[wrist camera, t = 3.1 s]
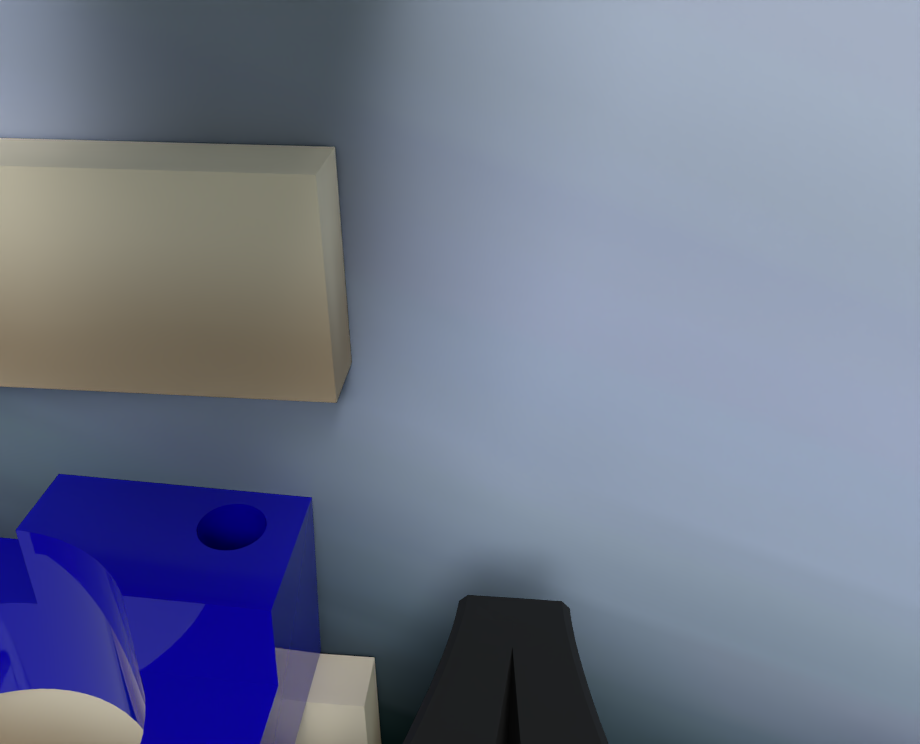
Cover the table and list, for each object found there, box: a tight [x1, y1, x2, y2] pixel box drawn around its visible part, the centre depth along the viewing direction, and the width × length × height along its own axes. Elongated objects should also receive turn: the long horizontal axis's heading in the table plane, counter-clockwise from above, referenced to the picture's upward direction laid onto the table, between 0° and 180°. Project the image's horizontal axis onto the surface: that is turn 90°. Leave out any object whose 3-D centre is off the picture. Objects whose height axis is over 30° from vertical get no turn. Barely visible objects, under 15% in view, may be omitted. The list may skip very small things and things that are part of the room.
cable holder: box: [0, 474, 321, 744], centre depth 13 cm, size 8×4×4 cm, turn 87°
